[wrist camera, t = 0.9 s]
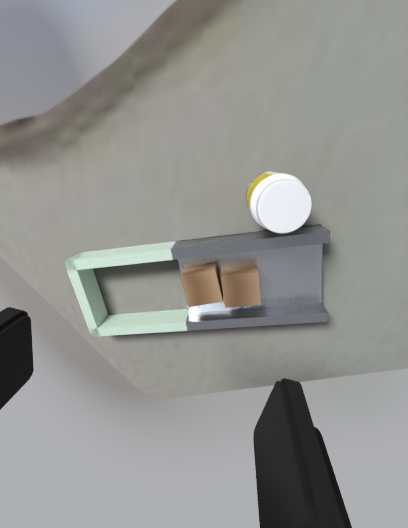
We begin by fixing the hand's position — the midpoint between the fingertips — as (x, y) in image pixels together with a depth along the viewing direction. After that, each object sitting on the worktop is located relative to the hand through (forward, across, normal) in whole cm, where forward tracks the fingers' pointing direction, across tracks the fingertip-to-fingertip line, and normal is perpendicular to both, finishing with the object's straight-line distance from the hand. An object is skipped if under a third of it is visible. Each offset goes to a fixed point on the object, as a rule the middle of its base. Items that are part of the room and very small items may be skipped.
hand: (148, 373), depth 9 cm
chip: (+20, -1, +6) cm, 21 cm away
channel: (+21, -6, +4) cm, 22 cm away
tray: (+21, +7, +9) cm, 24 cm away
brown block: (+20, -5, +4) cm, 21 cm away
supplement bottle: (+21, -6, -6) cm, 23 cm away
